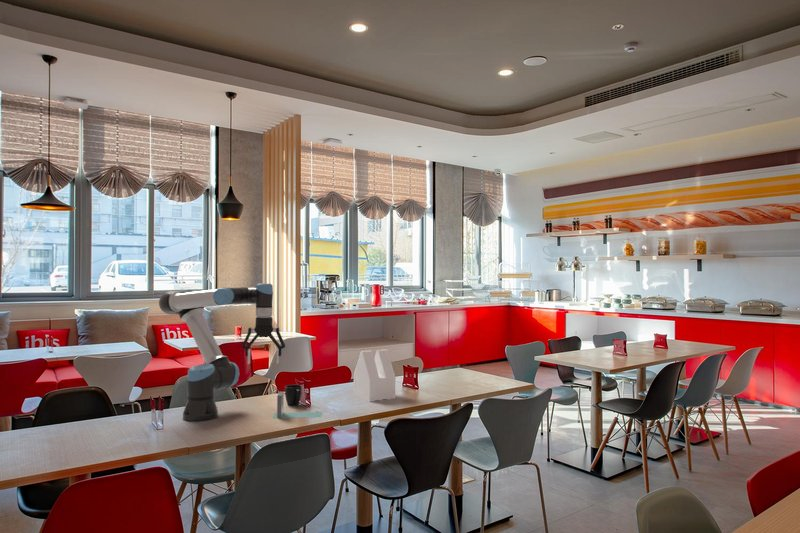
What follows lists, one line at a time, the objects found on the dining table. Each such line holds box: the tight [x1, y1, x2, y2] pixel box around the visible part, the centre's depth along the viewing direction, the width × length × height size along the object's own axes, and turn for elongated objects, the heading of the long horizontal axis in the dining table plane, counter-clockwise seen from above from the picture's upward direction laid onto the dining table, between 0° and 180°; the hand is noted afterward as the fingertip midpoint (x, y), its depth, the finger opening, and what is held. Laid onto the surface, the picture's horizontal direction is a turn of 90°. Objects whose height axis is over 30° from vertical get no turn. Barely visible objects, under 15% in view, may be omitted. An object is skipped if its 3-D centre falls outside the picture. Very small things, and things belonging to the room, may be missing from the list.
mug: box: [284, 384, 303, 407], centre depth 274 cm, size 8×12×10 cm
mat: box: [272, 411, 323, 419], centre depth 254 cm, size 22×10×1 cm, turn 97°
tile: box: [276, 391, 285, 419], centre depth 253 cm, size 2×9×10 cm, turn 6°
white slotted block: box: [352, 348, 396, 402], centre depth 297 cm, size 19×15×25 cm
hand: (263, 363), depth 253 cm, fingers open, 12 cm apart
